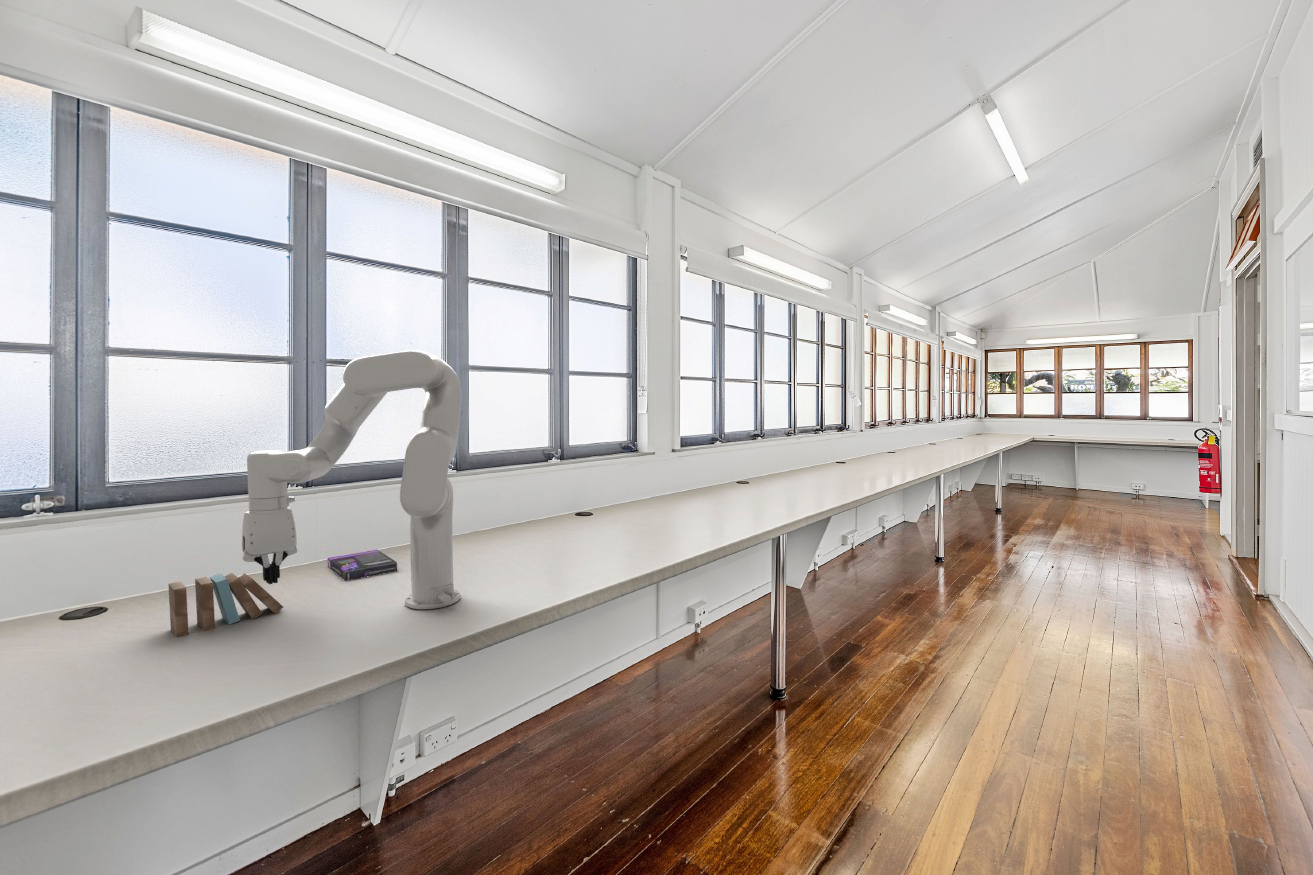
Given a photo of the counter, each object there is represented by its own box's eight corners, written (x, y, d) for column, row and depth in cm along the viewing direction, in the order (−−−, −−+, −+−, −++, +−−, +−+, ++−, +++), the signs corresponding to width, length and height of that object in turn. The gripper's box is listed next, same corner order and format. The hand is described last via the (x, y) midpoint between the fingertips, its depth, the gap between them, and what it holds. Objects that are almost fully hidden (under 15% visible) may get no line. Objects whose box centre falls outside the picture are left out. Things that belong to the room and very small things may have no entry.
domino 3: (232, 613, 133) (220, 573, 131) (240, 620, 129) (227, 578, 127) (222, 617, 131) (209, 577, 129) (229, 624, 127) (216, 582, 125)
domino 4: (254, 607, 136) (231, 572, 132) (262, 613, 132) (238, 577, 128) (245, 612, 135) (221, 577, 131) (253, 619, 131) (228, 583, 127)
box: (327, 569, 173) (344, 583, 159) (327, 557, 173) (343, 570, 158) (377, 560, 182) (398, 572, 168) (377, 549, 182) (397, 560, 167)
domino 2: (208, 621, 130) (206, 576, 129) (215, 628, 126) (212, 582, 125) (197, 623, 128) (194, 578, 127) (203, 630, 124) (201, 584, 123)
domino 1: (182, 627, 126) (180, 581, 126) (188, 634, 122) (186, 587, 122) (170, 629, 125) (168, 583, 124) (176, 637, 121) (173, 589, 120)
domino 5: (275, 601, 139) (244, 573, 134) (283, 606, 135) (252, 578, 130) (267, 607, 138) (236, 579, 133) (275, 613, 134) (243, 585, 129)
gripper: (299, 498, 143) (302, 572, 144) (225, 506, 132) (228, 586, 133) (310, 501, 138) (312, 578, 139) (233, 510, 127) (237, 593, 128)
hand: (271, 582), depth 136 cm, fingers closed
